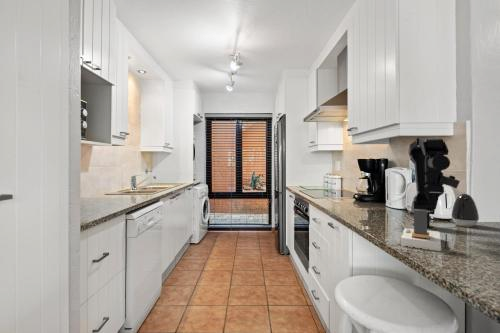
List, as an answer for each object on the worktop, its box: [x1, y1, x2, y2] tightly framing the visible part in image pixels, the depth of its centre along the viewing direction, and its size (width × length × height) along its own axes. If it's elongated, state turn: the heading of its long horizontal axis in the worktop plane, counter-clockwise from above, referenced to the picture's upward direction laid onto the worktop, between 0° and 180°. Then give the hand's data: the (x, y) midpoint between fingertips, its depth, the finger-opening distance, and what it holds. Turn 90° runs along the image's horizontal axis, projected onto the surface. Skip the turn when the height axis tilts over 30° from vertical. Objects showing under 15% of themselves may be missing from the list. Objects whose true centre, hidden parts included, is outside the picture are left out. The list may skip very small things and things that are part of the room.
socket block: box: [400, 227, 442, 252], centre depth 104 cm, size 17×12×4 cm
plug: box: [412, 209, 429, 239], centre depth 101 cm, size 5×5×13 cm
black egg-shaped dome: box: [451, 193, 480, 228], centre depth 129 cm, size 10×10×15 cm
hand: (433, 207), depth 111 cm, fingers open, 9 cm apart
